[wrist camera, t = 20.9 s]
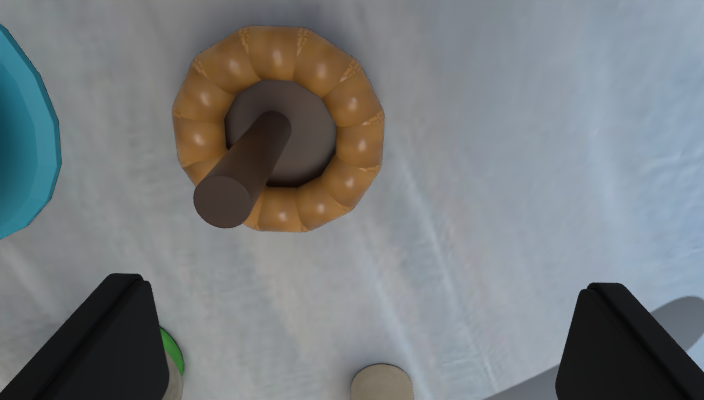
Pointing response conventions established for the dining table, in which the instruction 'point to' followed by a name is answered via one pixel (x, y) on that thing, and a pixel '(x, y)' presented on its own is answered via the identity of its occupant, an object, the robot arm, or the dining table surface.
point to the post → (266, 149)
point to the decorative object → (24, 139)
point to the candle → (381, 384)
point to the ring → (311, 73)
